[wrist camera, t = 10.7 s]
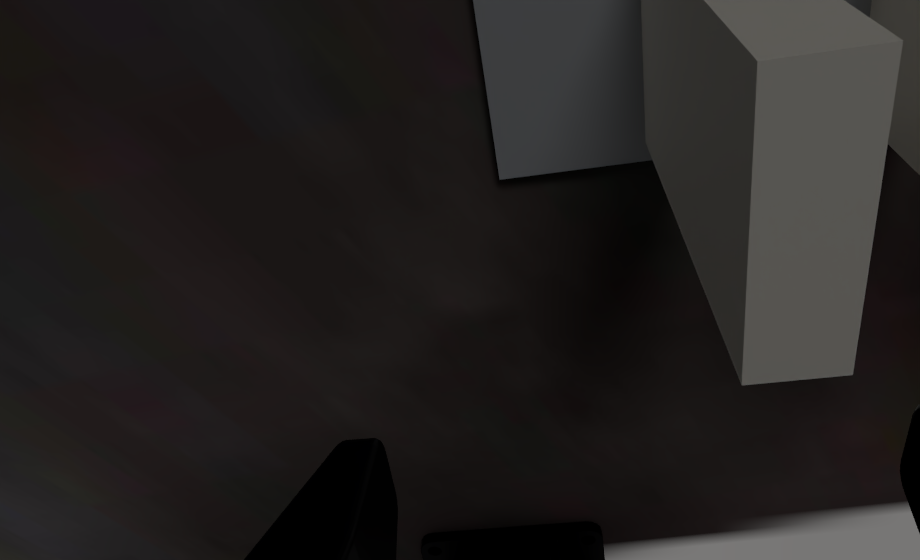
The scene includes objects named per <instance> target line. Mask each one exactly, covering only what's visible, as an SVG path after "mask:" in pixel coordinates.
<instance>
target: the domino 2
mask: <svg viewBox="0 0 920 560" xmlns="http://www.w3.org/2000/svg"><path fill="white" fill-rule="evenodd" d="M870 18H871V19H872V20H874V21H875V22H877V23H878V24H880V25H881V26H883V27H884V28H886V29H887V30H888V31H890V32H891V33H893V34H894V35H896V36H897V37H899V38H900V39H902V40H903V46H902V52H901V59H900V65H899V72H898V79H897V85H896V92H895V99H894V105H893V112H892V118H891V125H890V132H889V138H888V145H889V146H890V147H891V148H892V149H893V150H894V151H895V152H896V153H898V154H899V155H900V156H901V157H902V158H903V159H904V160H905V161H906V162H907V163H908V164H909V165H910V166H911V167H912V168H913V169H914V170H915V171H916V172H917V173H918V174H919V175H920V0H872V2H871V10H870Z"/></svg>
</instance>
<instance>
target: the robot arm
mask: <svg viewBox="0 0 920 560" xmlns="http://www.w3.org/2000/svg"><path fill="white" fill-rule="evenodd" d="M900 475H901V481H902V486H903V489H904V492H905V495H906V497H907V500H908V503H909V506H910V508H911V511H912V514H913V516H914V519H915V522H916V525H917V528H918V530H919V533H920V405H918V406H917V408H916V409H915V410H914V413H913V415H912V419H911V423H910V427H909V431H908V435H907V439H906V443H905V447H904V450H903V454H902V458H901V464H900ZM397 521H398V506H397V496H396V491H395V487H394V483H393V479H392V475H391V471H390V467H389V463H388V459H387V455H386V451H385V448H384V445H383V444H382V442H381V441H380V440H378V439H375V438H370V439H356V440H345V441H342V442H341V443H339V444H338V445H337V446H336V447H335V448H334V449H333V451H332V452H331V453H330V454H329V456H328V457H327V458H326V459H325V461H324V462H323V463H322V464H321V465H320V467H319V468H318V469H317V470H316V472H315V473H314V474H313V475H312V477H311V478H310V479H309V480H308V481H307V483H306V484H305V485H304V486H303V488H302V489H301V490H300V491H299V493H298V494H297V495H296V496H295V497H294V499H293V500H292V501H291V502H290V504H289V505H288V506H287V507H286V509H285V510H284V511H283V512H282V513H281V515H280V516H279V517H278V518H277V520H276V521H275V522H274V523H273V525H272V526H271V527H270V528H269V530H268V531H267V532H266V533H265V534H264V536H263V537H262V538H261V539H260V541H259V542H258V543H257V544H256V546H255V547H254V548H253V549H252V550H251V552H250V553H249V554H248V555H247V557H246V558H245V559H244V560H396V545H397ZM421 553H422V556H423V560H605V557H604V547H603V537H602V530H601V527H600V526H599V525H598V524H596V523H594V522H574V523H561V524H548V525H534V526H521V527H508V528H494V529H481V530H468V531H454V532H441V533H431V534H428V535H426V536H424V538H423V539H422V547H421Z"/></svg>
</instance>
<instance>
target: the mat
mask: <svg viewBox="0 0 920 560" xmlns="http://www.w3.org/2000/svg"><path fill="white" fill-rule="evenodd" d="M844 1H846V2H847V3H849V4H850V5H852V6H853V7H855V8H856V9H858V10H859V11H861V12H862V13H864V14H865V15H866V16H868V17H869V18H870V10H871V2H872V0H844ZM473 3H474V10H475V17H476V24H477V30H478V37H479V44H480V51H481V57H482V64H483V71H484V78H485V85H486V91H487V98H488V105H489V112H490V118H491V125H492V132H493V139H494V145H495V152H496V159H497V166H498V172H499V179H500V180H502V179H510V178H517V177H525V176H533V175H541V174H548V173H556V172H564V171H572V170H579V169H587V168H595V167H603V166H610V165H618V164H626V163H634V162H641V161H649V160H652V158H651V155H650V153H649V150H648V148H647V145H646V143H645V112H644V82H643V52H642V21H641V0H473Z"/></svg>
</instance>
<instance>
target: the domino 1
mask: <svg viewBox="0 0 920 560" xmlns="http://www.w3.org/2000/svg"><path fill="white" fill-rule="evenodd" d="M641 21H642V52H643V82H644V112H645V143H646V145H647V148H648V150H649V153H650V155H651V158H652V160H653V163H654V165H655V168H656V170H657V173H658V175H659V178H660V180H661V183H662V185H663V188H664V191H665V193H666V196H667V198H668V201H669V203H670V206H671V208H672V211H673V213H674V216H675V218H676V221H677V223H678V226H679V228H680V231H681V233H682V236H683V239H684V241H685V244H686V246H687V249H688V251H689V254H690V256H691V259H692V261H693V264H694V266H695V269H696V271H697V274H698V276H699V279H700V281H701V284H702V286H703V289H704V292H705V294H706V297H707V299H708V302H709V304H710V307H711V309H712V312H713V314H714V317H715V319H716V322H717V324H718V327H719V329H720V332H721V334H722V337H723V340H724V342H725V345H726V347H727V350H728V352H729V355H730V357H731V360H732V362H733V365H734V367H735V370H736V372H737V375H738V377H739V380H740V382H741V385H752V384H762V383H773V382H784V381H794V380H805V379H816V378H826V377H837V376H848V375H853V370H854V364H855V357H856V350H857V344H858V337H859V330H860V324H861V317H862V311H863V304H864V297H865V291H866V284H867V277H868V271H869V264H870V258H871V251H872V244H873V238H874V231H875V224H876V218H877V211H878V205H879V198H880V191H881V185H882V178H883V171H884V165H885V158H886V152H887V145H888V138H889V132H890V125H891V118H892V112H893V105H894V99H895V92H896V85H897V79H898V72H899V65H900V59H901V52H902V46H903V40H902V39H900V38H899V37H897V36H896V35H894V34H893V33H891V32H890V31H888V30H887V29H886V28H884V27H883V26H881V25H880V24H878V23H877V22H875V21H874V20H872V19H871V18H869V17H868V16H866V15H865V14H864V13H862V12H861V11H859V10H858V9H856V8H855V7H853V6H852V5H850V4H849V3H847V2H846V1H844V0H641Z"/></svg>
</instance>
